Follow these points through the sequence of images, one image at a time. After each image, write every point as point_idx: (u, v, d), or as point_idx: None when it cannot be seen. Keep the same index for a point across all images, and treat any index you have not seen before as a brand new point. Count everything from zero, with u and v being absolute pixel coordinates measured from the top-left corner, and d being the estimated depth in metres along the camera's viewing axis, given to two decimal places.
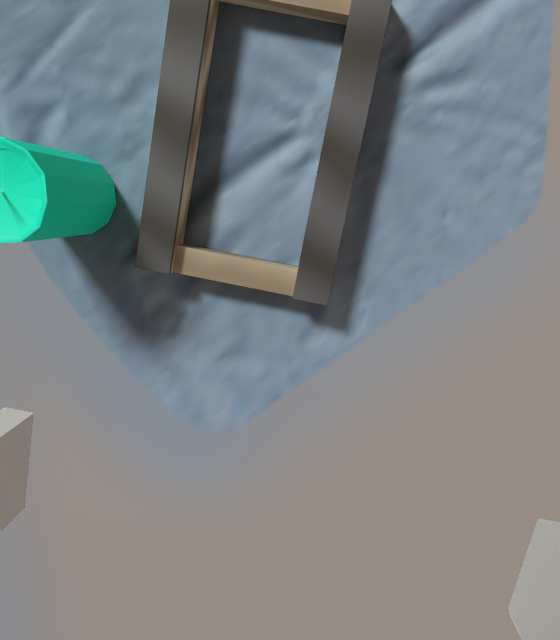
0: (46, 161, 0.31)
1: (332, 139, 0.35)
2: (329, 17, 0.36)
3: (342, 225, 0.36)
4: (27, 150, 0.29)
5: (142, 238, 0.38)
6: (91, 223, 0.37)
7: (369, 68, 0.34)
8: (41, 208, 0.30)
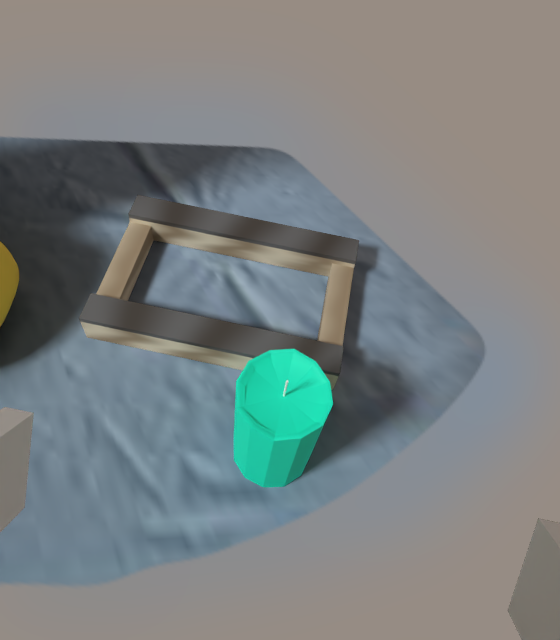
0: None
1: (236, 231, 0.48)
2: (148, 243, 0.49)
3: (298, 228, 0.49)
4: (248, 362, 0.33)
5: None
6: None
7: (190, 209, 0.49)
8: (299, 355, 0.33)
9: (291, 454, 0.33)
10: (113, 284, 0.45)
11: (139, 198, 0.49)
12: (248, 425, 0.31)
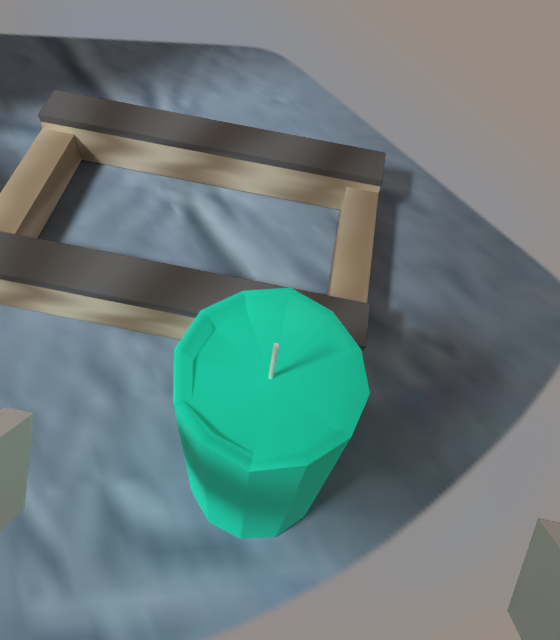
0: None
1: (201, 139, 0.32)
2: (70, 161, 0.33)
3: (294, 136, 0.33)
4: (201, 312, 0.17)
5: None
6: None
7: (133, 110, 0.33)
8: (300, 299, 0.17)
9: (287, 493, 0.17)
10: (6, 214, 0.29)
11: (56, 95, 0.33)
12: (196, 439, 0.15)
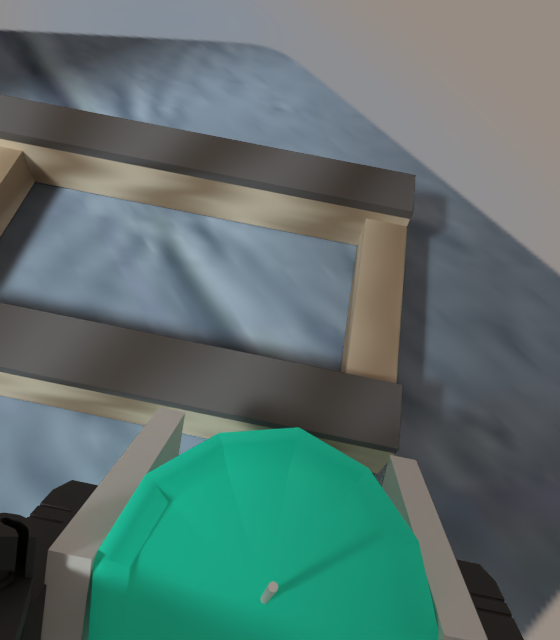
0: None
1: (182, 157, 0.25)
2: (18, 185, 0.26)
3: (300, 154, 0.26)
4: (147, 477, 0.10)
5: (339, 429, 0.18)
6: None
7: (97, 120, 0.26)
8: (315, 449, 0.10)
9: None
10: None
11: (0, 101, 0.26)
12: None
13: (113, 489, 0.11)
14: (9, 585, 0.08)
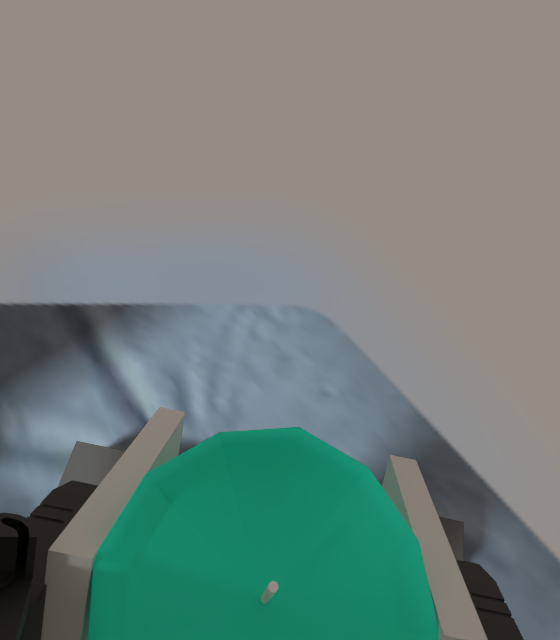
0: None
1: None
2: None
3: None
4: (147, 477, 0.10)
5: None
6: None
7: None
8: (315, 449, 0.10)
9: None
10: None
11: (78, 450, 0.28)
12: None
13: (113, 489, 0.11)
14: (9, 585, 0.08)
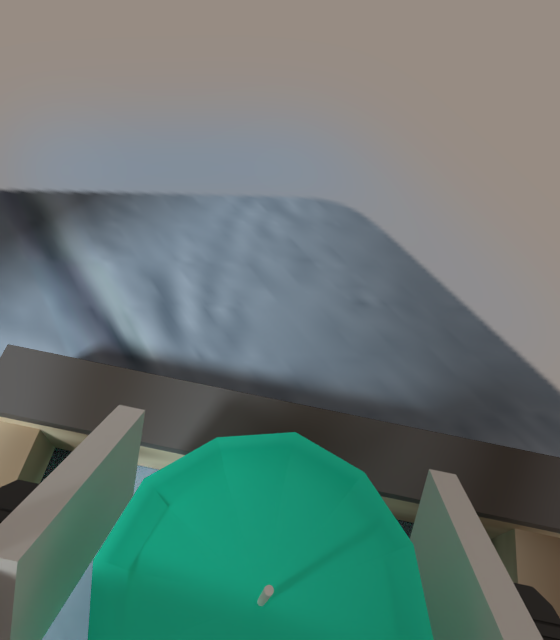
0: None
1: None
2: (34, 472, 0.19)
3: (421, 431, 0.19)
4: (145, 481, 0.10)
5: None
6: None
7: (141, 384, 0.19)
8: (312, 454, 0.10)
9: None
10: None
11: (9, 357, 0.19)
12: None
13: (54, 488, 0.10)
14: None
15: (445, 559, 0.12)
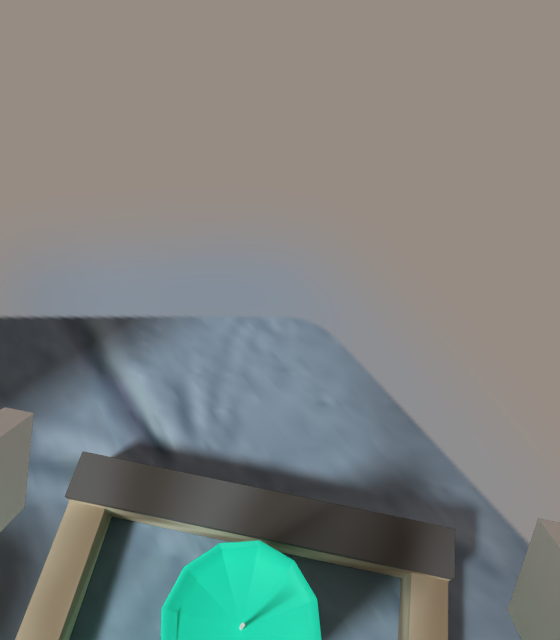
0: None
1: (249, 523, 0.28)
2: (100, 536, 0.29)
3: (352, 509, 0.29)
4: (184, 567, 0.20)
5: None
6: None
7: (170, 479, 0.29)
8: (268, 552, 0.21)
9: None
10: None
11: (84, 460, 0.29)
12: None
13: None
14: None
15: None
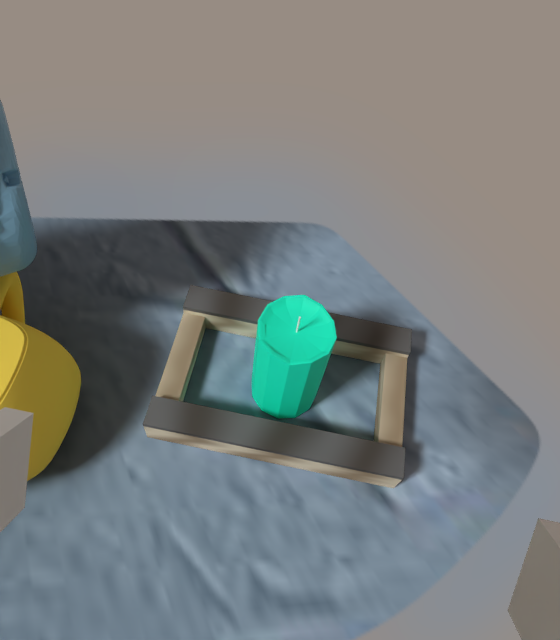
0: None
1: None
2: (201, 334, 0.49)
3: (351, 318, 0.49)
4: (267, 305, 0.40)
5: (377, 469, 0.42)
6: None
7: (243, 300, 0.49)
8: (308, 300, 0.41)
9: (302, 380, 0.40)
10: (172, 382, 0.45)
11: (192, 289, 0.49)
12: (268, 353, 0.38)
13: None
14: None
15: None
